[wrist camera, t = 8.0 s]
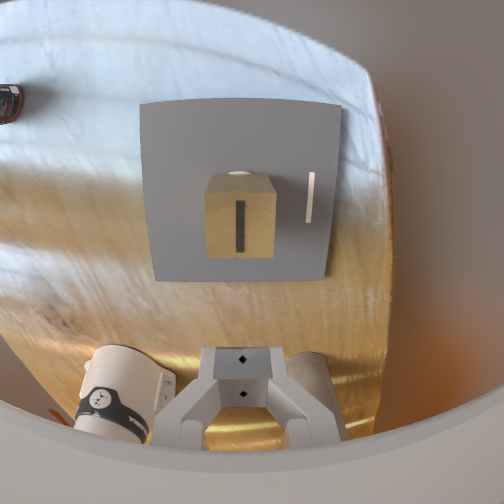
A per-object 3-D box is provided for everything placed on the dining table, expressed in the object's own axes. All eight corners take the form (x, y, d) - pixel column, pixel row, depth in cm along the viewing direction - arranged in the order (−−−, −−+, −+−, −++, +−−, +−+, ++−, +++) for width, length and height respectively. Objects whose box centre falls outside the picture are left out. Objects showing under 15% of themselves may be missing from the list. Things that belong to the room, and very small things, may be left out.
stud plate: (320, 274, 38) (341, 318, 29) (158, 275, 37) (138, 319, 28) (337, 105, 28) (373, 102, 20) (143, 105, 27) (109, 101, 19)
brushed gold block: (264, 223, 32) (273, 258, 24) (214, 224, 31) (206, 259, 24) (266, 174, 29) (277, 193, 22) (213, 174, 29) (203, 193, 21)
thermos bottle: (310, 383, 49) (341, 518, 24) (273, 376, 47) (292, 525, 22) (333, 356, 46) (380, 503, 20) (294, 347, 44) (329, 513, 19)
